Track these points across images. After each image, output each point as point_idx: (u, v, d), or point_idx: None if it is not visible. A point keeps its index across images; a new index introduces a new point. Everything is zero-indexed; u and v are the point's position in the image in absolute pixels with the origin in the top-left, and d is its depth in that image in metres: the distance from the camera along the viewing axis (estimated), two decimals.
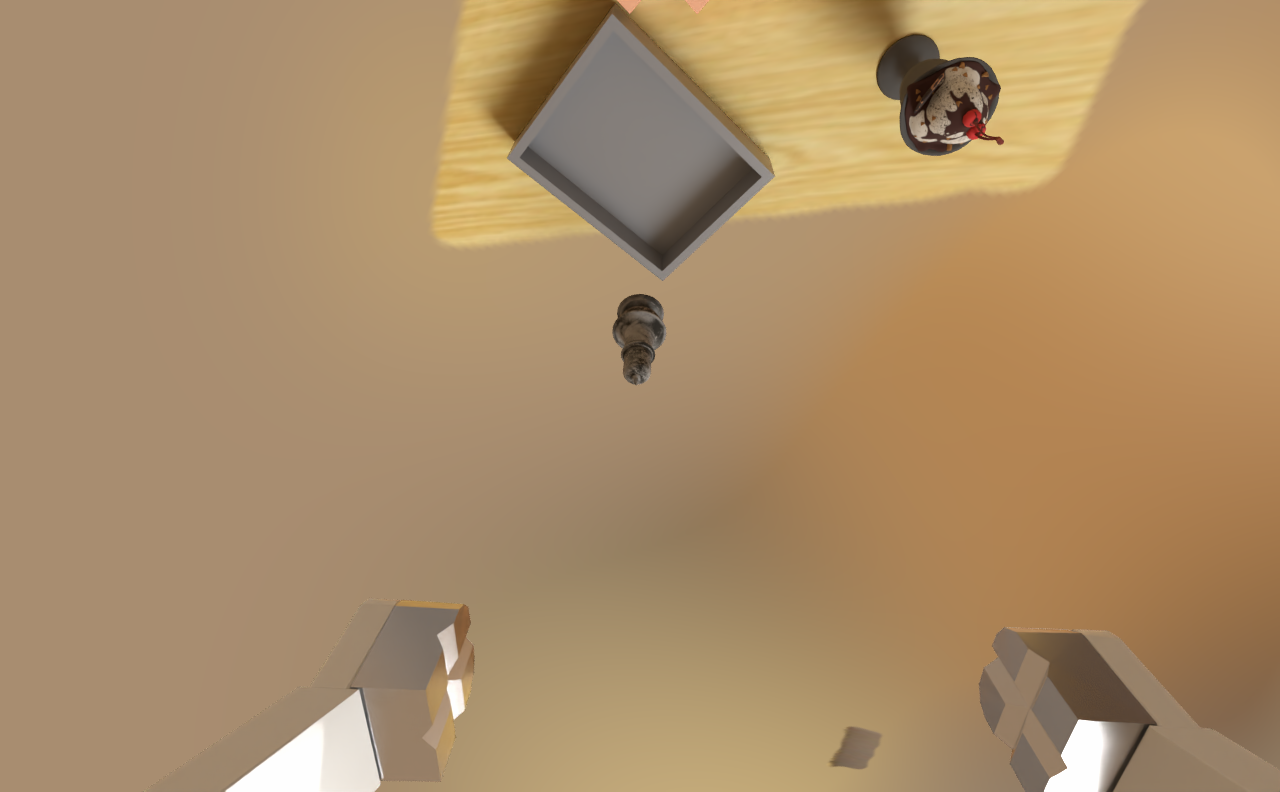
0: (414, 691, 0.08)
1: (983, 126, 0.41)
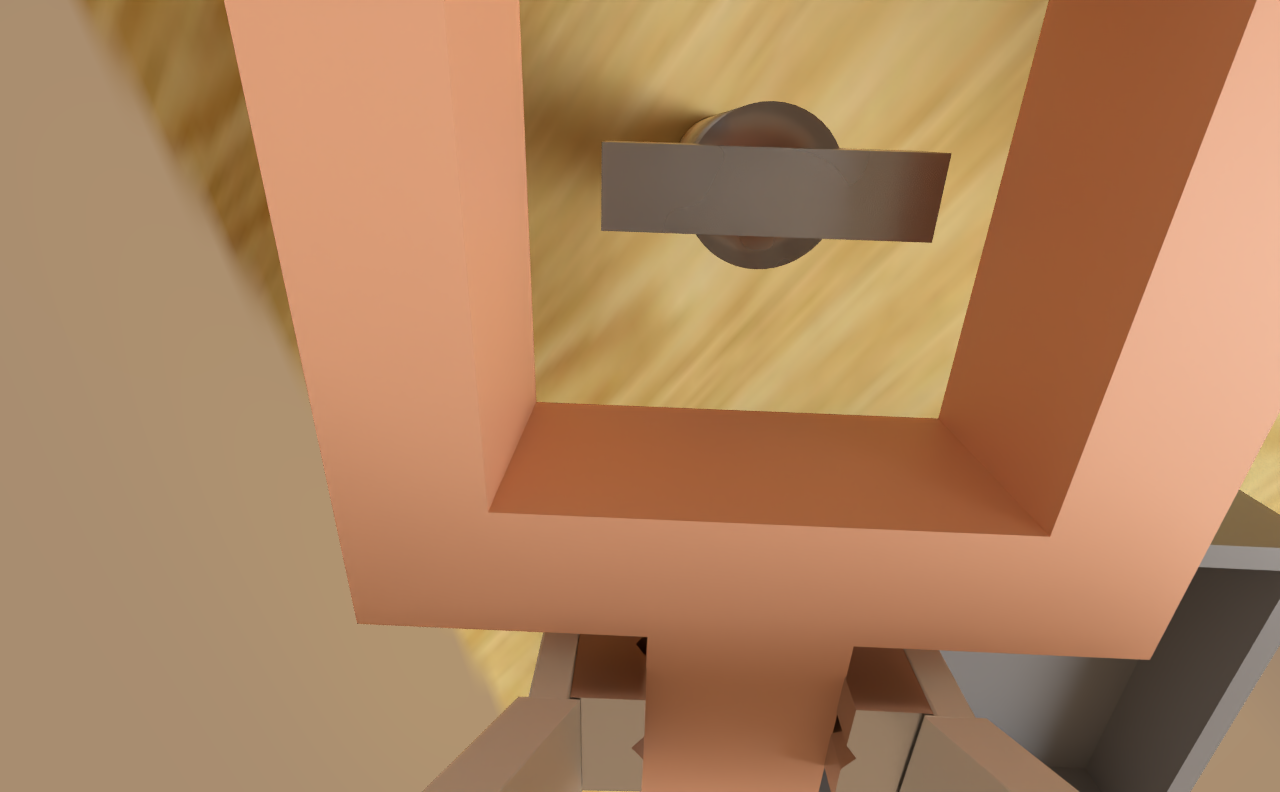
0: (631, 701, 0.08)
1: None
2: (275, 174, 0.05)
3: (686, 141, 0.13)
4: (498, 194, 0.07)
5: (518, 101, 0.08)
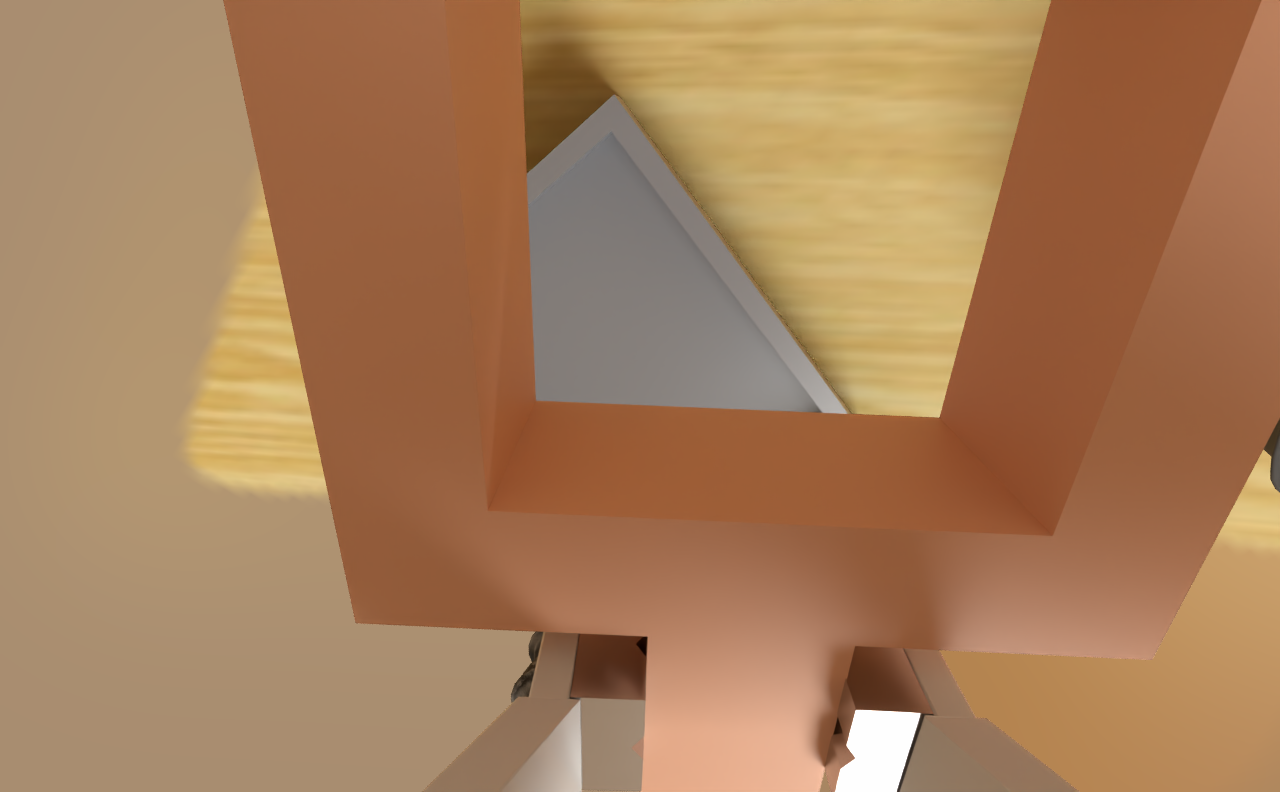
0: (631, 701, 0.08)
1: None
2: (273, 169, 0.05)
3: None
4: (498, 191, 0.07)
5: (518, 97, 0.08)
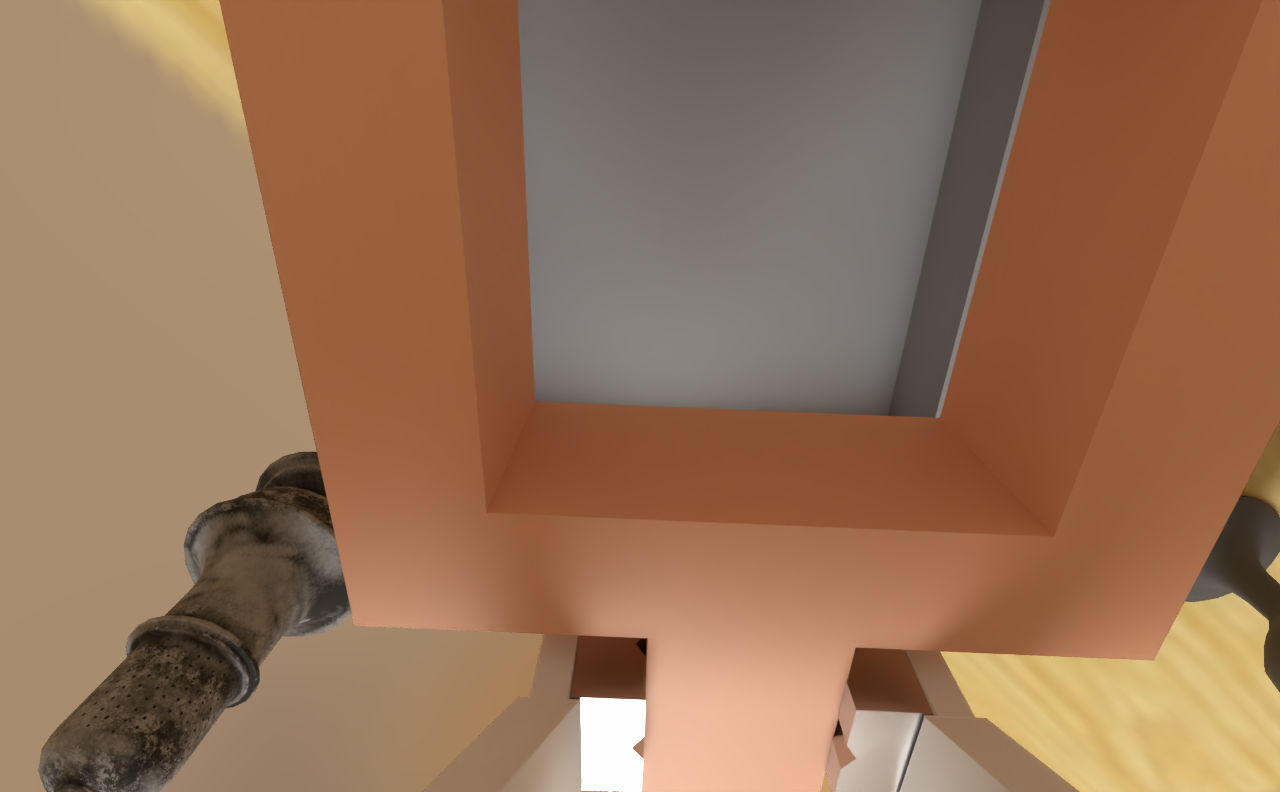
0: (631, 701, 0.08)
1: None
2: (270, 170, 0.05)
3: None
4: (496, 191, 0.07)
5: (516, 98, 0.08)
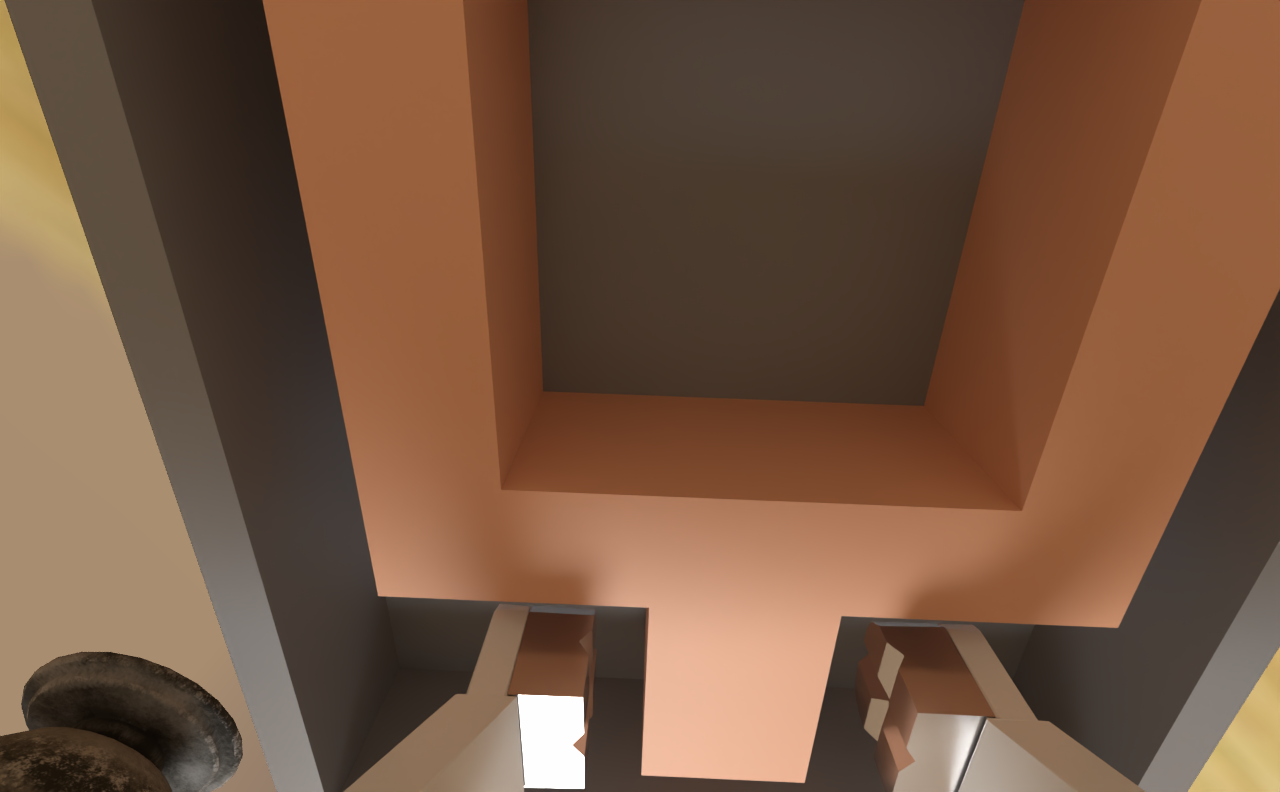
0: (569, 698, 0.08)
1: None
2: (309, 177, 0.06)
3: None
4: (509, 195, 0.07)
5: (527, 108, 0.08)
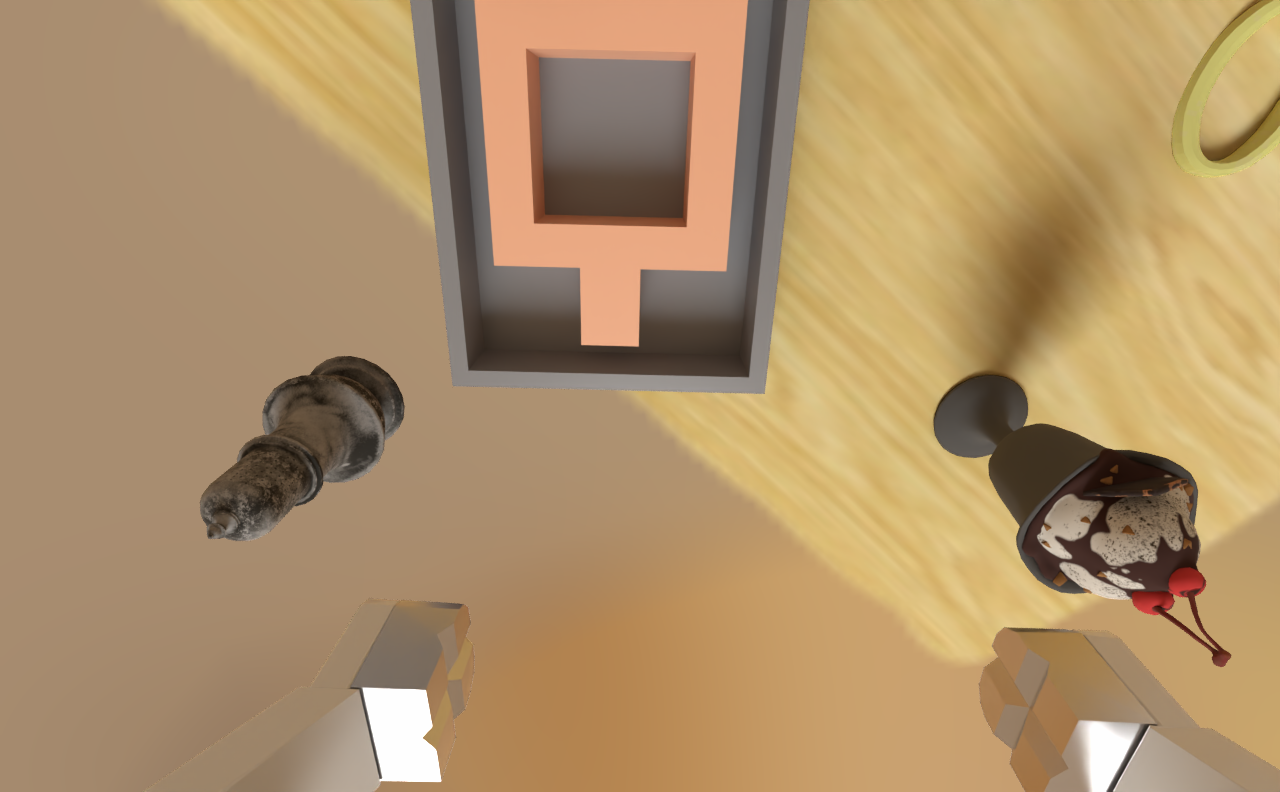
0: (414, 691, 0.08)
1: None
2: (487, 128, 0.24)
3: None
4: (535, 136, 0.25)
5: (539, 111, 0.26)
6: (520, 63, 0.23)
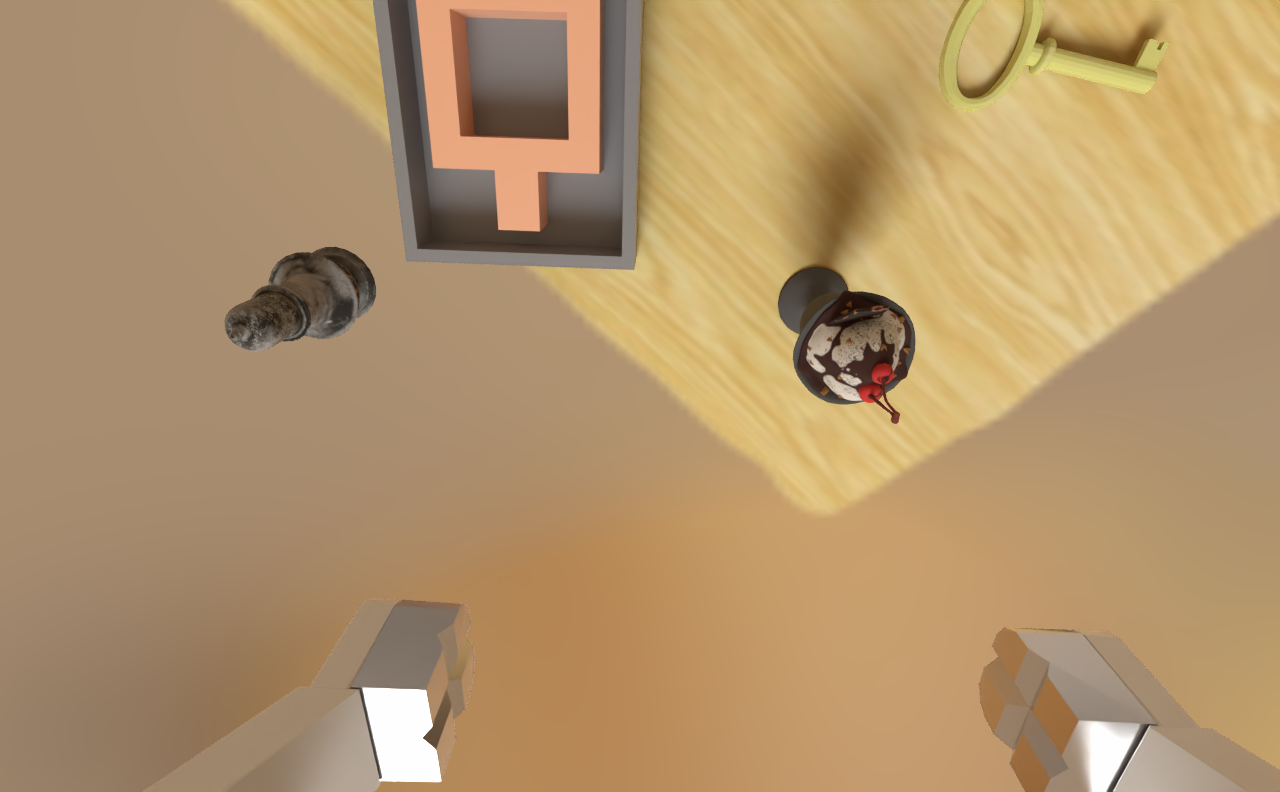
0: (414, 691, 0.08)
1: (881, 393, 0.32)
2: (424, 66, 0.34)
3: None
4: (462, 74, 0.35)
5: (467, 57, 0.36)
6: (446, 19, 0.33)
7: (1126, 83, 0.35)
